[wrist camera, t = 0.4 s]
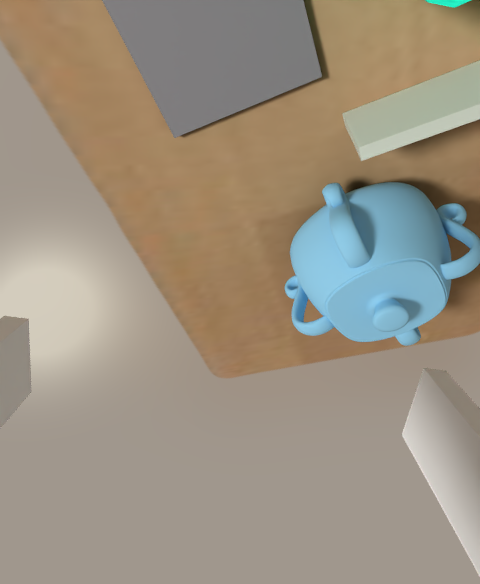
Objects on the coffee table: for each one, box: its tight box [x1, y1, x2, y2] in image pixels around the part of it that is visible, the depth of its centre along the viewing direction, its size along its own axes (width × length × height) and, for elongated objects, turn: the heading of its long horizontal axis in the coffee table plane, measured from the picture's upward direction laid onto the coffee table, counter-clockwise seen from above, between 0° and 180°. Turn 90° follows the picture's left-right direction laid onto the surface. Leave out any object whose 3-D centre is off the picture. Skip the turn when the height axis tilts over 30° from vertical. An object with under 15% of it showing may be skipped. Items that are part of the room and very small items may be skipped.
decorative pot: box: [285, 182, 480, 345], centre depth 42 cm, size 16×16×14 cm
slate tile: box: [102, 0, 322, 138], centre depth 32 cm, size 14×14×1 cm
